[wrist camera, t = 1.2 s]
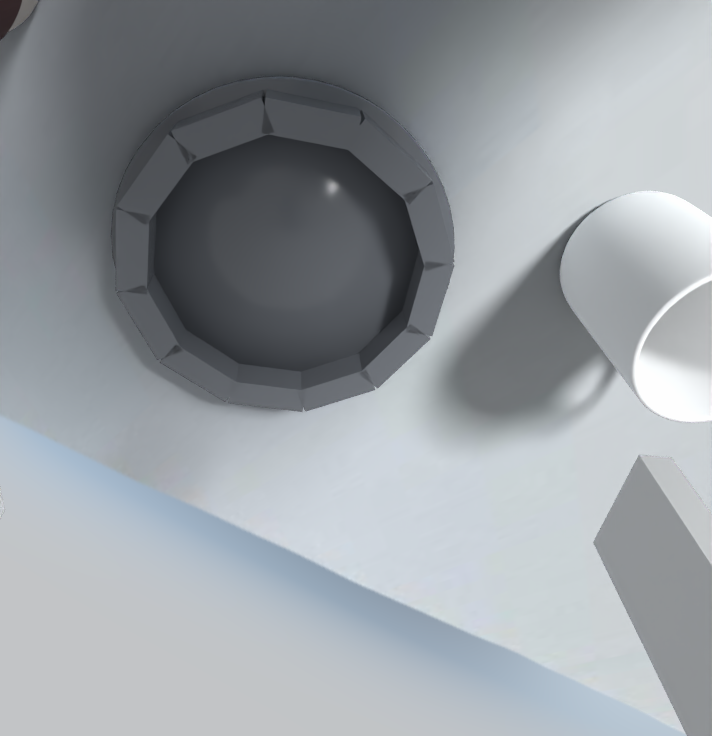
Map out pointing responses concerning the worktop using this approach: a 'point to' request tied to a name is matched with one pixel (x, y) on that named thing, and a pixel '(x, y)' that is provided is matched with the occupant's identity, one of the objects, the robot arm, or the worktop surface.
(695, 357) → the mug
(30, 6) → the coffee cup
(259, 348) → the bowl
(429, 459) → the worktop surface
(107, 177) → the worktop surface
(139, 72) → the worktop surface
